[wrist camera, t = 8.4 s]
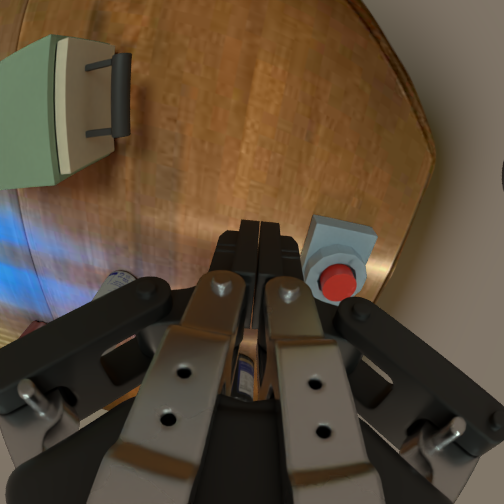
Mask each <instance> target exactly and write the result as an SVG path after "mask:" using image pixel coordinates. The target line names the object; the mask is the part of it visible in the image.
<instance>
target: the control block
mask: <svg viewBox="0 0 504 504" xmlns="http://www.w3.org/2000/svg"><path fill="white" fill-rule="evenodd" d="M377 237H378V236H377V235H376V233H375V232H374V230H373V229H372V227H369V226H364V225H360V224H356V223H351V222H347V221H342V220H337V219H333V218H328V217H323V216H319V215H313V217H312V221H311V224H310V227H309V231H308V234H307V237H306V241H305V244H304V247H303V250H302V254H301V257H300V260H301V265H302V271H303V278H304V282H305V283H306V284H307V285H308V286H309V287H310V288H311V290H312V294H313V296H314V297H315V298H317V299H319V300H321V301H323V302H326V303H330V304H333V305H336V306H339V303H340V302H341V301H338V302H335V301H330V300H328V299H326V298H325V297H324V295H323V292H322V288H321V284H320V276H321V274H322V272H323V271H324V270H325V269H326V268H327V267H329V266H331V265H334V264H344V265H346V266H348V267H349V268H350V269H351V270H352V273H353V275H354V277H355V280H356V283H357V287H356V290H355V292H354V293H353V294H352V295H351V296H350V297H353V296H354V295H356V294H357V293H358V292H359V291H360V290H361V289H362V287H363V285H364V283H365V281H366V278H367V274H366V266H365V265H366V263H367V261H368V258H369V256H370V254H371V251H372V249H373V247H374V244H375V242H376V240H377Z"/></svg>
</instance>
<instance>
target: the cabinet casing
mask: <svg viewBox="0 0 504 504" xmlns="http://www.w3.org/2000/svg"><path fill="white" fill-rule="evenodd" d="M68 37H69V36H61V35H53V34H51V35H48V36H46V37H44V38H42V39H40V40H38V41H36V42H34V43H32V44H30V45H28V46H26V47H24V48H22V49H21V50H19V51H17V52H15V53H14V54H12V55H10V56H8V57H7V58H5V59H4V60H2V61H0V190H6V189H16V188H26V187H38V186H52V185H56V184H58V183H60V182H61V181H63V180H64V179H66V178H68V177H70V176H71V175H73V174H75V173H77V172H78V171H80V170H82V169H84V168H86V167H87V166H89V165H91V164H93V163H95V162H97V161H99V160H101V159H103V158H105V157H107V156H109V155H110V153H109V154H107V155H105V156H103V157H101V158H99V159H97V160H95V161H93V162H91V163H89V164H87V165H86V166H84V167H82V168H80V169H78V170H76V171H75V172H73V173H71V174H61V172H60V165H59V163H58V161H57V152H56V142H55V129H54V106H53V83H54V61H55V54H57V43H58V41H60V40H63V39H65V38H68ZM70 38H76V37H70ZM77 39H82V38H77ZM83 40H88V39H83ZM89 41H93V40H89ZM94 42H98V41H94ZM100 43H103V42H100ZM104 44H108V43H104ZM109 45H110V44H109Z"/></svg>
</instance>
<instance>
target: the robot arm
mask: <svg viewBox="0 0 504 504" xmlns="http://www.w3.org/2000/svg"><path fill="white" fill-rule="evenodd" d="M259 222H260V221H252V220H242V219H241V224H240V229H239V231H230V230H227V231H225V232H224V233H223V234H222V235H220V236H219V240H218V243H217V246H216V249H215V252H214V256H213V259H212V262H211V265H210V269H209V272H208V273H206V274H204V275H203V276H202V277H201V278H200V279H199V281H198V283H197V285H196V286H194V287H191V288H187V289H178V290H171V288H170V285H169V284H168V283H167V282H166V281H165V280H163V279H161V278H158V277H142V278H139V279H136V280H134V281H132V282H130V283H128V284H126V285H124V286H121V287H119V288H117V289H115V290H113V291H111V292H109V293H107V294H105V295H103V296H101V297H99V298H97V299H95V300H93V301H91V302H89V303H87V304H85V305H83V306H81V307H79V308H77V309H75V310H73V311H71V312H69V313H67V314H65V315H63V316H61V317H59V318H57V319H55V320H53V321H51V322H50V323H48V324H46V325H44V326H42V327H40V328H38V329H36V330H34V331H32V332H30V333H28V334H27V335H25V336H23V337H21V338H19V339H17V340H15V341H13V342H12V343H10V344H8V345H6V346H4V347H2V348H0V429H1V432H2V435H3V438H4V441H5V444H6V446H7V449H8V451H9V454H10V456H11V459H12V461H13V463H14V466H15V468H16V469H15V470H14V471H13V472H12V474H11V475H10V477H9V479H8V482H7V485H6V494H5V495H6V503H7V504H454V503H455V501H456V500H457V498H458V497H459V495H460V493H461V492H462V490H463V488H464V487H465V485H466V483H467V481H468V479H469V478H470V476H471V474H472V472H473V470H474V468H475V466H476V464H477V463H478V460H479V458H480V457H481V456H482V455H483V454H484V453H486V452H488V451H489V450H491V449H492V448H494V447H495V446H496V445H498V444H500V443H501V442H502V441H503V440H504V406H503V405H502V404H501V403H499V402H498V401H497V400H496V399H495V398H493V397H492V396H491V395H490V394H489V393H487V392H486V391H485V390H484V389H483V388H481V387H480V386H479V385H478V384H477V383H475V382H474V381H473V380H472V379H471V378H469V377H468V376H467V375H466V374H464V373H463V372H462V371H461V370H459V369H458V368H457V367H456V366H454V365H453V364H452V363H451V362H449V361H448V360H447V359H446V358H444V357H443V356H442V355H441V354H439V353H438V352H437V351H436V350H434V349H433V348H432V347H430V346H429V345H428V344H427V343H425V342H424V341H422V340H421V339H420V338H419V337H417V336H416V335H415V334H414V333H412V332H411V331H410V330H408V329H407V328H406V327H404V326H403V325H402V324H400V323H399V322H398V321H397V320H395V319H394V318H393V317H391V316H390V315H388V314H387V313H386V312H385V311H383V310H382V309H381V308H379V307H378V306H377V305H375V304H374V303H372V302H371V301H369V300H367V299H364V298H361V297H347V298H345V299H343V300H342V301H341V302H340V303H339V306H336V305H333V304H330V303H326V302H323V301H321V300H319V299H317V298H315V297H314V296H313V294H312V290H311V288H310V287H309V286H308V285H307V284H306V283H305V282H304V278H303V271H302V265H301V260H300V254H299V248H298V243H297V242H296V241H295V240H294V239H293V238H292V237H291V236H281V235H280V225H279V223H273V222H263V221H261V226H260V235H259ZM258 238H259V244H258ZM254 288H255V290H254ZM253 297H254V304H253ZM252 305H253V318H252V329H258V339H257V345H256V358H257V381H258V401H253V402H245V401H241V400H238V399H235V398H232V397H230V395H231V389H232V385H233V380H234V375H235V370H236V365H237V361H238V356H239V351H240V344H241V342H242V340H243V335H244V328H249V329H250V322H251V314H252ZM134 334H135V335H136V337H135V338H133V339H131V340H130V341H128V342H126V343H124V344H123V345H121V346H119V347H117V348H116V349H114V350H112V351H110V352H109V353H107V354H105V355H103V356H102V354H103V353H104V352H105V351H106V350H108V349H109V348H111V347H113V346H115V345H116V344H118V343H120V342H122V341H123V340H125V339H127V338H129V337H130V336H132V335H134ZM363 355H365V356H366V357H367V358H368V359H369V360H371V361H372V362H373V363H374V364H375V365H376V366H378V367H379V368H380V369H381V370H382V371H384V372H385V373H386V374H388V376H389V377H390V378H391V379H392V381H393V384H391V383H389V382H388V381H386V380H385V379H384V378H383V377H382V376H380V375H379V374H378V373H377V372H376V371H374V370H373V369H372V368H371V367H370V366H368V364H366V363H365V362H364V361H363V360H362V357H363ZM140 384H141V386H140V388H139V391H138V393H137V395H136V396H135V397H132V398H130V399H128V400H126V401H124V402H122V403H120V404H119V405H117V406H116V407H114V408H113V409H111V410H110V411H108V412H107V413H105V414H104V415H102V416H100V417H99V418H97V419H96V420H94V421H93V422H91V423H90V424H88V425H86V426H85V427H83V428H82V429H80V430H79V425H80V421H81V420H83V419H84V418H86V417H88V416H90V415H91V414H93V413H95V412H96V411H98V410H100V409H101V408H103V407H105V406H106V405H108V404H110V403H111V402H113V401H115V400H116V399H118V398H120V397H121V396H123V395H124V394H126V393H128V392H129V391H131V390H132V389H134V388H136V387H137V386H139V385H140ZM357 413H358V414H359V415H361V416H362V417H363V418H364V419H365V420H366V421H367V422H368V423H369V424H370V425H372V426H373V427H374V428H375V429H376V430H377V431H378V432H379V433H380V434H382V435H383V436H384V437H385V438H386V439H387V440H388V441H390V442H391V443H392V444H393V445H394V446H395V447H396V448H398V449H399V450H400V451H399V454H398V453H397V452H396V451H395V450H394V449H393V448H392V447H391V446H390V445H389V444H388V443H386V441H384V440H383V439H382V438H381V437H380V436H379V435H378V434H377V433H376V432H375V431H374V430H373V429H372V428H371V427H370V426H369V425H368V424H367V423H365V422H364V421H363V420H361V419H360V418H359V417H358V415H357Z"/></svg>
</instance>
